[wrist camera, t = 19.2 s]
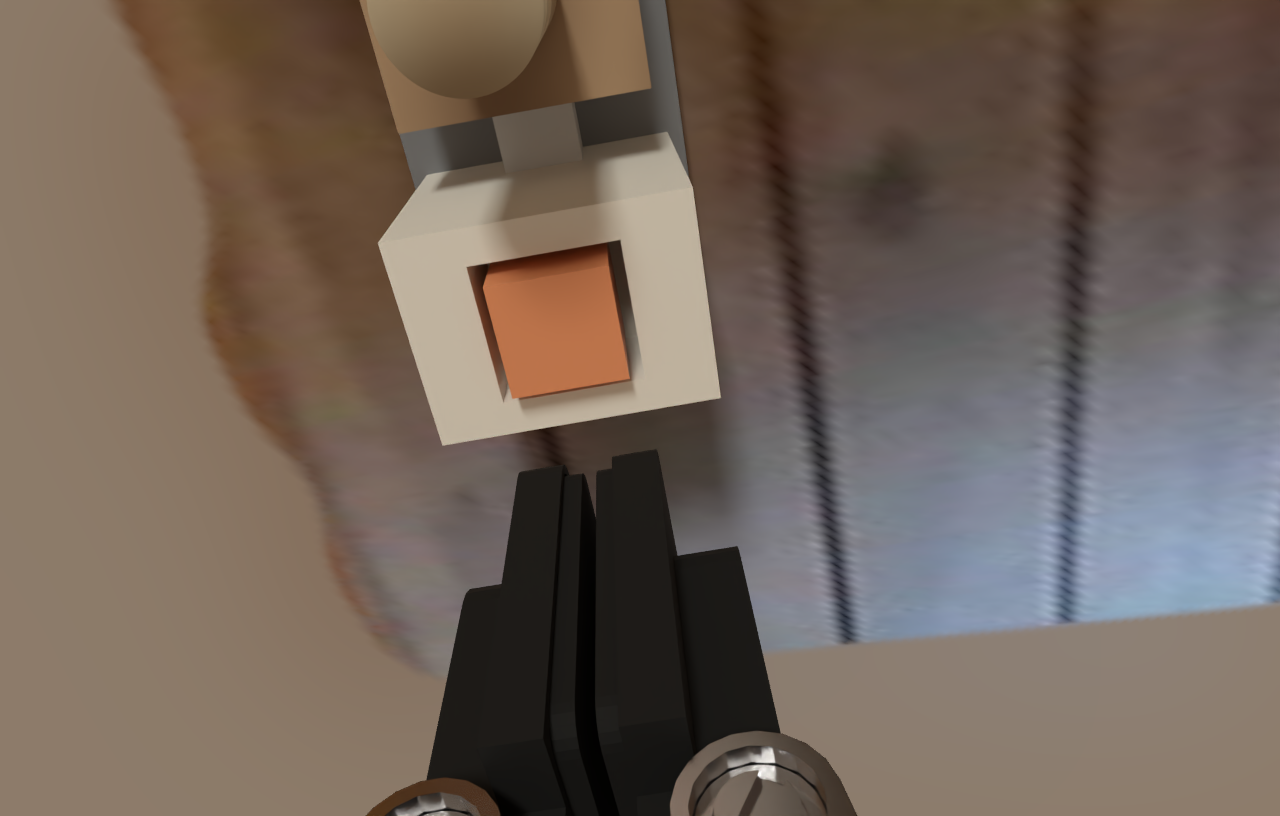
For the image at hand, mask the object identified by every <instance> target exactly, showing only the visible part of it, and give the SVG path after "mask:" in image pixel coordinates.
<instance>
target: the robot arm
mask: <svg viewBox="0 0 1280 816" xmlns="http://www.w3.org/2000/svg"><path fill="white" fill-rule="evenodd" d="M366 816H857V814H856V812H855V810H854V808H853V806H852V803H851V801H850V799H849V797H848V795H847V793H846V791H845V789H844V786H843V784H842V782H841V780H840V779H839V777H838V776H837V774H836V773H835V771H834V770H833V768H832V767H831V765H830V764H829V762H828V761H827V760H826V758H824V757H823V756H822V755H820V754H819V753H818V752H817V751H815V750H814V749H813V748H812V747H810V746H809V745H808V744H806V743H804V742H802V741H799V740H797V739H794V738H792V737H789V736H787V735H784V734H781V733H780V728H779V724H778V720H777V715H776V711H775V707H774V702H773V698H772V693H771V689H770V684H769V680H768V675H767V671H766V667H765V662H764V658H763V653H762V649H761V645H760V640H759V636H758V631H757V627H756V623H755V618H754V614H753V609H752V605H751V601H750V596H749V592H748V587H747V583H746V579H745V574H744V570H743V565H742V561H741V557H740V553H739V549H738V546H736V547H730V548H724V549H717V550H711V551H705V552H699V553H692V554H686V555H680V556H677V551H676V546H675V541H674V535H673V530H672V525H671V519H670V514H669V509H668V503H667V498H666V493H665V488H664V482H663V477H662V472H661V466H660V461H659V456H658V452H657V449H655V450H649V451H643V452H637V453H631V454H625V455H619V456H613V457H612V469H607V470H601V471H597V475H596V517H595V513H594V509H593V505H592V501H591V497H590V493H589V488H588V484H587V481H586V478H585V475H584V474H577V475H571V476H569V473H568V470H567V468H566V466H565V465H559V466H553V467H547V468H541V469H535V470H529V471H523V472H520V473H519V475H518V479H517V486H516V492H515V499H514V506H513V512H512V519H511V525H510V532H509V539H508V545H507V552H506V558H505V565H504V572H503V578H502V584H499V585H493V586H486V587H480V588H474V589H470V590H469V591H468V592H467V593H466V595H465V598H464V601H463V605H462V609H461V614H460V619H459V624H458V629H457V634H456V639H455V643H454V648H453V653H452V658H451V663H450V668H449V673H448V678H447V682H446V687H445V693H444V698H443V702H442V707H441V712H440V716H439V721H438V726H437V731H436V736H435V741H434V746H433V750H432V755H431V760H430V765H429V770H428V775H427V780H425V781H420V782H418V783H415V784H413V785H410V786H408V787H406V788H403V789H401V790H399V791H396V792H395V793H393V794H392V795H391V796H389V797H388V798H386V799H385V800H383V801H382V802H381V803H379V804H378V805H376V806H375V807H373V808H372V810H371V811H370V812H369V813H368V814H367V815H366Z"/></svg>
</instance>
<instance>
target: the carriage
mask: <svg viewBox="0 0 1280 816" xmlns="http://www.w3.org/2000/svg"><path fill="white" fill-rule="evenodd" d="M360 3H361V7H362V10H363V13H364V17H365V20H366V24H367V27H368V31H369V34H370V38H371V41H372V44H373V48H374V51H375V55H376V58H377V62H378V65H379V69H380V72H381V76H382V79H383V82H384V86H385V89H386V93H387V96H388V100H389V103H390V107H391V110H392V114H393V117H394V120H395V124H396V127H397V131H398V134H402V133H407V132H413V131H418V130H424V129H429V128H435V127H440V126H446V125H451V124H457V123H462V122H468V121H473V120H479V119H484V118H490V117H495V116H501V115H506V114H512V113H518V112H523V111H529V110H534V109H540V108H545V107H551V106H556V105H562V104H567V103H573V102H578V101H584V100H589V99H595V98H600V97H606V96H611V95H617V94H622V93H628V92H633V91H639V90H645V89H650V88H651V81H650V74H649V67H648V61H647V54H646V47H645V40H644V34H643V27H642V20H641V13H640V7H639V0H360Z"/></svg>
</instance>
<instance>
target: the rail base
mask: <svg viewBox="0 0 1280 816" xmlns="http://www.w3.org/2000/svg"><path fill="white" fill-rule="evenodd" d="M639 7H640V13H641V20H642V27H643V34H644V40H645V47H646V54H647V61H648V67H649V74H650V81H651V88H650V89H645V90H639V91H633V92H628V93H622V94H617V95H611V96H606V97H600V98H595V99H589V100H584V101H578V102H573V103H567V104H562V105H556V106H551V107H545V108H540V109H534V110H529V111H523V112H518V113H512V114H506V115H501V116H495V117H490V118H484V119H479V120H473V121H468V122H462V123H457V124H451V125H446V126H440V127H435V128H429V129H424V130H418V131H413V132H407V133H402V134H400V137H401V141H402V144H403V148H404V151H405V154H406V158H407V161H408V165H409V168H410V172H411V175H412V179H413V182H414V186H415V189H416V191H415V192H414V194H413V195H412V196H411V198H410V199H409V201H408V202H407V203H406V205H405V206H404V208H403V209H402V210H401V212H400V213H399V215H398V216H397V217H396V219H395V220H394V221H393V223H392V224H391V226H390V227H389V228H388V230H387V231H386V233H385V234H384V235H383V237H382V238H381V240H380V241H379V242H378V245H379V248H380V251H381V254H382V257H383V261H384V264H385V267H386V270H387V273H388V276H389V279H390V283H391V286H392V289H393V292H394V295H395V298H396V301H397V304H398V308H399V311H400V314H401V317H402V320H403V323H404V326H405V329H406V333H407V336H408V339H409V342H410V345H411V348H412V351H413V354H414V358H415V361H416V364H417V367H418V370H419V373H420V376H421V379H422V383H423V386H424V389H425V392H426V395H427V398H428V401H429V404H430V408H431V411H432V414H433V417H434V420H435V423H436V426H437V429H438V433H439V436H440V439H441V442H442V445H448V444H454V443H460V442H466V441H472V440H478V439H483V438H489V437H495V436H501V435H507V434H513V433H519V432H524V431H530V430H536V429H542V428H548V427H554V426H560V425H565V424H571V423H577V422H583V421H589V420H595V419H601V418H606V417H612V416H618V415H624V414H630V413H636V412H642V411H647V410H653V409H659V408H665V407H671V406H677V405H683V404H688V403H694V402H700V401H706V400H712V399H718V398H721V396H720V388H719V381H718V373H717V366H716V358H715V351H714V343H713V336H712V328H711V321H710V313H709V306H708V298H707V290H706V283H705V275H704V268H703V260H702V253H701V245H700V238H699V230H698V223H697V215H696V208H695V200H694V193H693V187H692V184H691V182H690V180H689V174H688V167H687V159H686V152H685V144H684V137H683V130H682V122H681V115H680V107H679V100H678V92H677V85H676V78H675V70H674V63H673V55H672V48H671V40H670V33H669V26H668V18H667V11H666V3H665V0H639ZM605 242H608V243H609V248H610V254H611V259H612V264H613V270H614V275H615V280H616V286H617V291H618V296H619V302H620V307H621V313H622V318H623V323H624V329H625V339H626V348H627V358H628V368H629V378H630V379H625V380H620V381H614V382H608V383H602V384H596V385H590V386H585V387H579V388H573V389H567V390H561V391H556V392H550V393H544V394H538V395H532V396H526V397H521V398H515V399H512V396H511V392H510V388H509V384H508V381H507V377H506V373H505V369H504V366H503V362H502V358H501V354H500V351H499V347H498V343H497V339H496V336H495V332H494V328H493V324H492V321H491V317H490V313H489V309H488V306H487V302H486V298H485V294H484V291H483V285H484V282H485V279H486V276H487V273H488V269H489V266H490V263H492V262H498V261H503V260H509V259H515V258H520V257H526V256H532V255H537V254H543V253H549V252H554V251H560V250H566V249H571V248H577V247H583V246H588V245H594V244H600V243H605Z"/></svg>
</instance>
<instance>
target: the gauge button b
mask: <svg viewBox="0 0 1280 816" xmlns="http://www.w3.org/2000/svg"><path fill="white" fill-rule="evenodd" d="M483 291H484V294H485V298H486V302H487V306H488V309H489V313H490V317H491V321H492V324H493V328H494V332H495V336H496V339H497V343H498V347H499V351H500V354H501V358H502V362H503V366H504V369H505V373H506V377H507V381H508V384H509V388H510V392H511V396H512V399H515V398H521V397H526V396H532V395H538V394H544V393H550V392H556V391H561V390H567V389H573V388H579V387H585V386H590V385H596V384H602V383H608V382H614V381H620V380H625V379H630V378H629V368H628V358H627V348H626V339H625V329H624V323H623V318H622V313H621V307H620V302H619V296H618V291H617V286H616V280H615V275H614V270H613V264H612V259H611V254H610V248H609V243H608V242H605V243H600V244H594V245H588V246H583V247H577V248H571V249H566V250H560V251H554V252H549V253H543V254H537V255H532V256H526V257H520V258H515V259H509V260H503V261H498V262H492V263H490V266H489V269H488V273H487V276H486V279H485V282H484V285H483Z"/></svg>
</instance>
